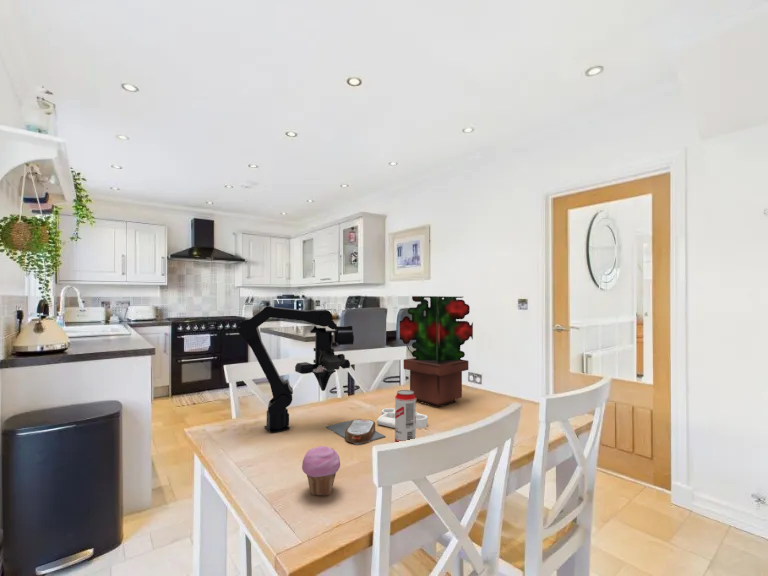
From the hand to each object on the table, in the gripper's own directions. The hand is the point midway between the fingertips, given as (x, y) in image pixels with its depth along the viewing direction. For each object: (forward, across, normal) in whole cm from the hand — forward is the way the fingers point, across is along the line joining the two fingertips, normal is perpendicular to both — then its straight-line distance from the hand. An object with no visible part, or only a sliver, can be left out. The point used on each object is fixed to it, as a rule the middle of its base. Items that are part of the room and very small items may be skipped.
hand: (323, 390), depth 130 cm
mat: (+12, +6, -12) cm, 18 cm away
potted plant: (+12, +53, -2) cm, 54 cm away
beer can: (+12, +12, -30) cm, 35 cm away
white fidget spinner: (+13, +24, -14) cm, 31 cm away
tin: (+10, +2, -12) cm, 16 cm away
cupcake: (+12, -21, -39) cm, 46 cm away
